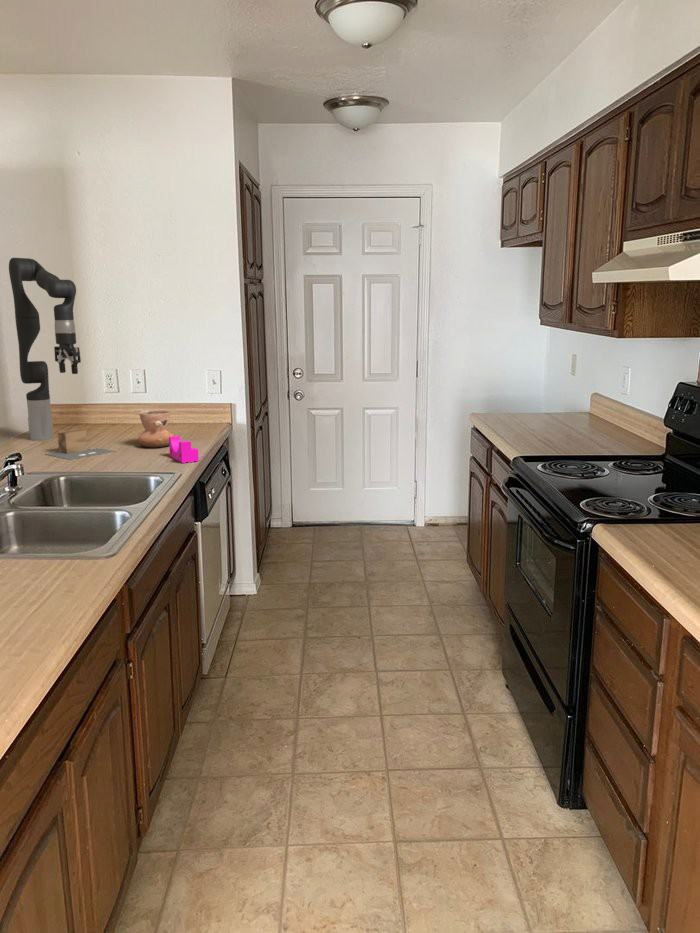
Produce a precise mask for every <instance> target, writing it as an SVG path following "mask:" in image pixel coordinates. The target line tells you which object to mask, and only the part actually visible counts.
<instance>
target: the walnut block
mask: <svg viewBox="0 0 700 933" xmlns="http://www.w3.org/2000/svg"><path fill="white" fill-rule="evenodd" d="M87 440H88V439H87V430H84V429H79V428H77V429H70V430H69V429H68V430H63V431H57V443H58V452H60V453H65V454H69V453H75V452H81V451H87V450H88V449H87V447H88V441H87Z"/></svg>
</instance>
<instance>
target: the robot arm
mask: <svg viewBox="0 0 700 933" xmlns="http://www.w3.org/2000/svg"><path fill="white" fill-rule="evenodd" d="M8 273H9V280H10V285H11V290H12V296H13V303H14V318H15V326H16V327H15V328H16V335H17V341H18V354H19V355H18V357H19V372H20V373H19V374H20V379H21V382H22V384H24V385H25V384H27V385H28V384H29V385H30V384H40V385H39V386H38V387H37V388H35V389H33V390H31V391H28V392H27V393H26V396H25V397H26V404H27V405H26V407H27V416H28V417H27V423H28V432H29V439H30V440H31V441H34V442H35V441H37V442H38V441H49V440H52V439H54V429H53V417H52V406H51V396H50V385H49V384H50V383H49V380H50V379H49V367H48V364H47V362H46V360H45V361H44V360H37V361H35V360H34V361H33V360H32V361H29V360H28V358H29V354H30V351H31V348H32V346H33V344H34V342H35V341H36V340H37V338H38V336H39V333H40V332H41V322H40V313H39V311H38V309H37V308H36V306H35V305H34V304H33V302H32V300H30V298H29V296H28V295H27V294H26V291H25V289H24V284H23V282H35V283H36V284H37V286H38V287H39V288H41V289H42V290H44V291H45V292H46V293H47V294H48V296H49V297H51V298H54V299H64V300H63V302H62V303H60V304H55V305H54V306H53V316H54V333H55V334H54V335H55V344H57V345H58V346H53V347H54V348H53V349H54V351H53V352H54V361H55V362H57V363H58V367H59V368H58V369H59V373H60V374H65V373H67V372H66V371H67V370H66V360H68V361H69V362H70V369H71V374H72V375H77V374H79V372H78V371H79V370H78V364H79V363H82V362H81V361H82V358H81V352H80V350H81V349H80V347H79V346H78V347H76V346H75V345H76V344H77V333H76V324H75V320H74V319H75V318H74V305H75V301H76V300H75V299H76V295H77V288H76V287H77V286H76V284H75V282H74V281H72V280H71V279H61V278H59V277H58V276H57V275H55V274H53V273H51V272H49V271H47V269H45V267H43V266H42V265H41V264H40V263H39V262H38V261H37V260H35V259H33V258H27V257H11V258H10V259H9V261H8Z"/></svg>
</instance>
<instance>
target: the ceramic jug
mask: <svg viewBox="0 0 700 933" xmlns="http://www.w3.org/2000/svg"><path fill="white" fill-rule="evenodd" d="M138 414H139V419H140V421H141V424H142V426H143V428H144V431H143V432H142V433H141V434H139V436H138V438H137V441H138V443H139V444H140V445H141V446H142V447H144V448H148V449H149V448H150V449H151V448H152V449H153V448H154V449H156V448H158V447H159V448H165V447H168V446H169V437H174V436H175V435H174V434H173V433H172V432H171V431H169V430H167V427H168V425H169V422H170V418H171V411H169V410H161V409H157V410H156V409H149V410H143V411H142V410H141V411H140V412H138Z"/></svg>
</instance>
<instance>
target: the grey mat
mask: <svg viewBox="0 0 700 933" xmlns="http://www.w3.org/2000/svg"><path fill="white" fill-rule="evenodd" d="M98 448H99V447H96V449H92V450H91V449H88V448H87V449H88V450H87V451H81V452H75V453H69V454H65V453H60V452H59V451H57V452H56V451H55V452H50V453H44V455H46V456H50V457H56V458H60V459H65V460H69V461H71V460H76V459H80V458H86V457H87V458H88V457H94V456H96V455H102V454H103V455H104V454H107V453H114V452H116V450H111V449H106V448H101V449H98Z"/></svg>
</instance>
